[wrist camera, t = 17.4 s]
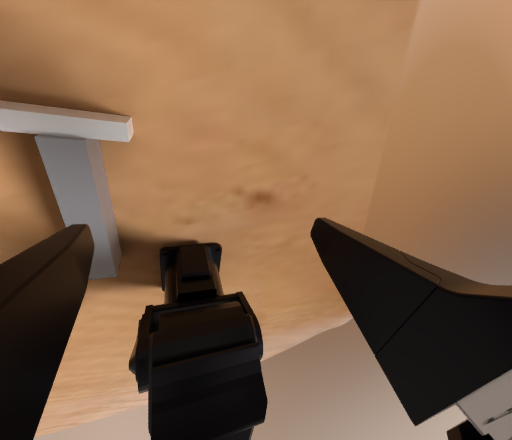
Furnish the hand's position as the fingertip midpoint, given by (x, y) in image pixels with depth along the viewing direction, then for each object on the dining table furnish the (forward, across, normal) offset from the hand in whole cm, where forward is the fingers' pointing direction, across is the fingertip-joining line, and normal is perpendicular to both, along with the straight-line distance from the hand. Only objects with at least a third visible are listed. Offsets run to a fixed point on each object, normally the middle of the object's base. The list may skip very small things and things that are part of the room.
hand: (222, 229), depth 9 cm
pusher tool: (+12, +8, +6) cm, 16 cm away
